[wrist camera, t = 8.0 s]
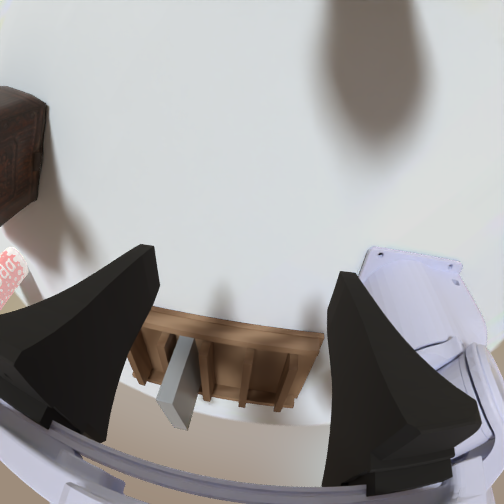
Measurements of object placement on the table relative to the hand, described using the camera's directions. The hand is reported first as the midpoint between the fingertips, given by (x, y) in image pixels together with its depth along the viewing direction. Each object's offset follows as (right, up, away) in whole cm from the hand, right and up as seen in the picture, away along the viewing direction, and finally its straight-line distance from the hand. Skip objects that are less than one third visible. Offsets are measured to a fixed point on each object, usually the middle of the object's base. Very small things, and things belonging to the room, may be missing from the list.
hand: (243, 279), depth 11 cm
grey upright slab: (-6, -10, +19) cm, 23 cm away
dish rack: (-4, -11, +20) cm, 23 cm away
